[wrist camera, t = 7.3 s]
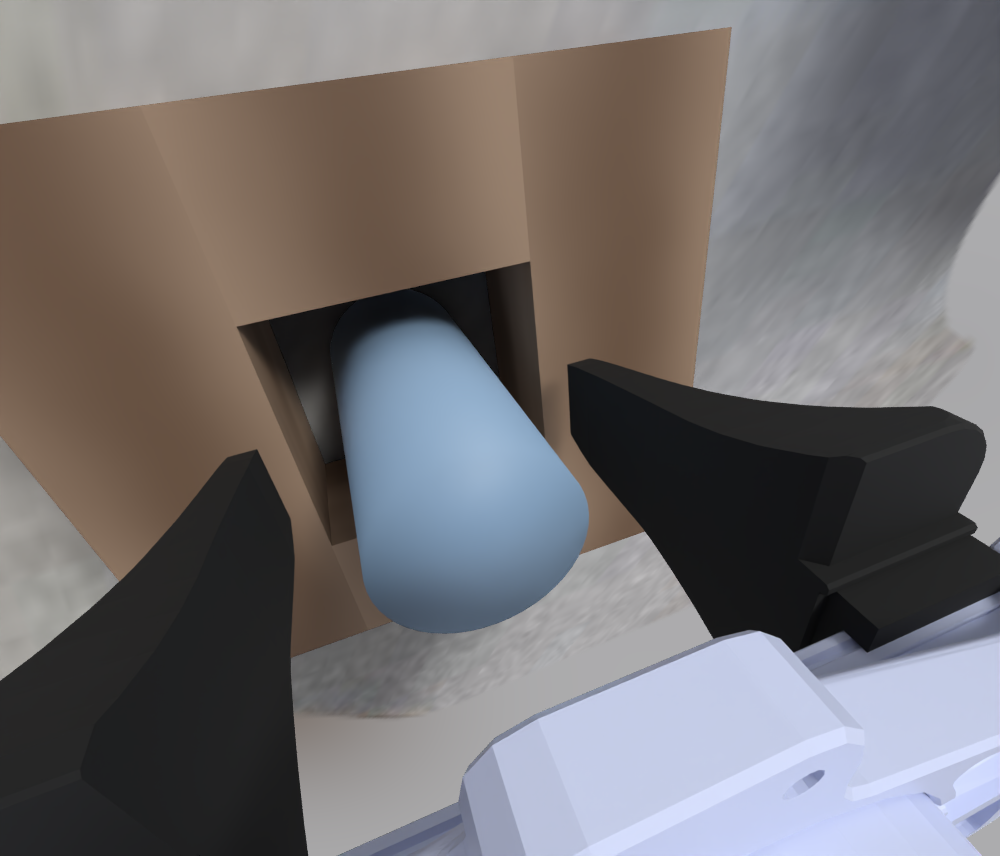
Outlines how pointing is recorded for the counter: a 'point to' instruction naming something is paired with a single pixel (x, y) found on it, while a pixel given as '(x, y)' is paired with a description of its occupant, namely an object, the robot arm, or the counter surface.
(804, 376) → the counter surface
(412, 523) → the peg
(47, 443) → the socket board
